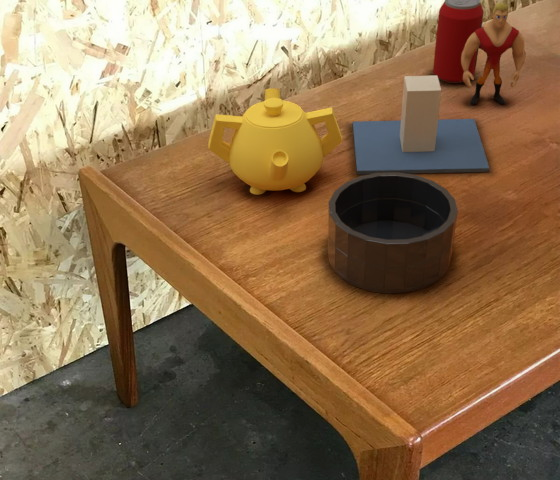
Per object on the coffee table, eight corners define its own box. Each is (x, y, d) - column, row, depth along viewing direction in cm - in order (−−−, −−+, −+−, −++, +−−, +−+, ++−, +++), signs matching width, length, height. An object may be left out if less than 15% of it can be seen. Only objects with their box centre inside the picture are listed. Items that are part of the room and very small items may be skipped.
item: (430, 135, 115) (437, 75, 108) (434, 151, 111) (441, 90, 105) (399, 136, 115) (404, 76, 108) (402, 152, 112) (407, 91, 105)
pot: (442, 219, 101) (448, 171, 96) (457, 292, 90) (465, 242, 85) (327, 221, 101) (327, 173, 96) (329, 294, 91) (330, 244, 86)
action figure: (457, 107, 122) (470, 6, 111) (454, 96, 124) (467, -4, 114) (519, 106, 121) (538, 5, 110) (516, 95, 124) (534, -5, 113)
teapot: (350, 215, 102) (352, 135, 94) (211, 223, 102) (202, 144, 94) (333, 138, 116) (334, 63, 108) (212, 145, 116) (204, 71, 108)
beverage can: (482, 75, 129) (494, -2, 121) (458, 89, 126) (468, 11, 117) (448, 63, 133) (456, -12, 124) (423, 77, 129) (431, 1, 121)
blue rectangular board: (473, 122, 118) (474, 118, 118) (489, 172, 108) (489, 168, 108) (352, 125, 119) (352, 121, 119) (356, 174, 109) (357, 170, 109)
